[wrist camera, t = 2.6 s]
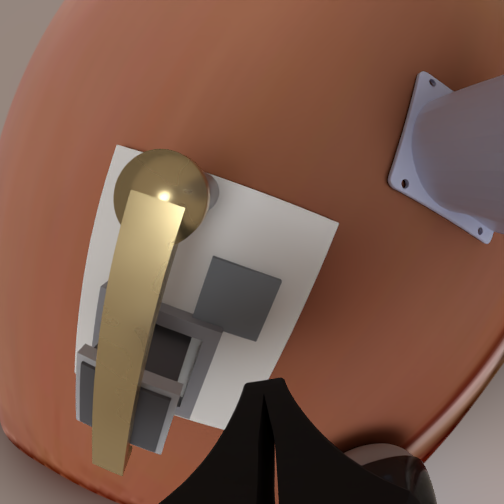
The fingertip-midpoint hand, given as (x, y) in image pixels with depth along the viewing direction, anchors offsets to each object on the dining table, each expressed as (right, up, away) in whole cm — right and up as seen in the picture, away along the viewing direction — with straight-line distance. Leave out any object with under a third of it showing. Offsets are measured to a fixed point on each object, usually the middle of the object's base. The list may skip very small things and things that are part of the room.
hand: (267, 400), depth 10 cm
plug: (-6, -1, +6) cm, 9 cm away
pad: (-1, +3, +6) cm, 6 cm away
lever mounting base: (-4, +2, +7) cm, 8 cm away
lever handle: (-5, +2, +1) cm, 5 cm away
